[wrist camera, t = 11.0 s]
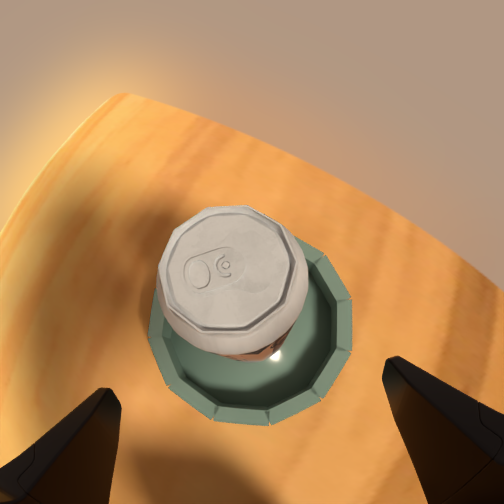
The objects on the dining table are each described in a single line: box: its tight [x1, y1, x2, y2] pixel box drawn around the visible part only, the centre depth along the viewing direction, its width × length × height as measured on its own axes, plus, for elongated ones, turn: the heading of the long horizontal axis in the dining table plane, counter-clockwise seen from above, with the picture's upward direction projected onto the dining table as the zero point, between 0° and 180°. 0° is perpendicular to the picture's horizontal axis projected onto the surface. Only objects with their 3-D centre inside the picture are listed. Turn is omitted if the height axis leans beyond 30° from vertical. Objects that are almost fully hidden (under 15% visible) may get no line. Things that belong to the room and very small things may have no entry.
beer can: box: [156, 205, 308, 363], centre depth 13 cm, size 5×5×12 cm
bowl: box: [148, 236, 352, 426], centre depth 18 cm, size 13×13×3 cm
